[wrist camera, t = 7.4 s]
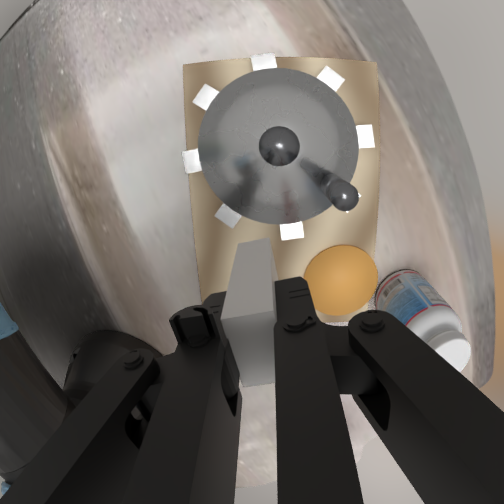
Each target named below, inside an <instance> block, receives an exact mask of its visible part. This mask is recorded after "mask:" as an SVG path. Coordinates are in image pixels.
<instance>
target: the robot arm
mask: <svg viewBox="0 0 504 504" xmlns="http://www.w3.org/2000/svg"><path fill="white" fill-rule="evenodd" d="M169 322H170V324H171V327H172V329H173V332H174V334H175V337H176V339H177V341H178V345H177V348H176V350H175V352H174V353H172V354H169V355H166V356H162V355H161V354H160V353H158V352H157V351H156V350H155V349H153V348H152V347H150V346H149V345H147V344H146V343H144V342H142V341H140V340H138V339H136V338H134V337H132V336H129V335H126V334H123V333H119V332H114V331H97V332H93V333H90V334H89V335H87V336H85V337H84V338H83V339H82V340H81V342H80V343H79V344H78V345H77V347H76V348H75V349H74V351H73V353H72V355H71V359H70V364H69V367H68V370H67V374H66V378H65V383H64V387H63V390H62V389H61V388H60V386H59V385H58V384H57V383H56V381H55V380H54V379H53V378H52V376H51V375H50V374H49V372H48V371H47V370H46V369H45V367H44V366H43V365H42V363H41V362H40V360H39V359H38V358H37V356H36V355H35V354H34V352H33V351H32V349H31V348H30V346H29V345H28V343H27V342H26V340H25V339H24V337H23V336H22V334H21V333H20V331H19V330H18V329H19V328H18V326H17V324H16V323H15V322H14V321H12V320H11V318H10V317H9V315H8V314H7V312H6V310H5V309H4V307H3V306H2V304H1V303H0V476H1V477H2V478H4V479H5V482H2V489H1V491H2V494H3V496H2V498H1V499H0V504H234V496H235V484H236V471H237V459H238V446H239V434H240V421H241V408H242V395H241V392H240V389H239V377H240V379H241V382H242V385H243V387H249V386H257V385H264V384H271V383H275V391H276V431H277V487H278V504H364V503H363V498H362V493H361V487H360V482H359V478H358V473H357V468H356V463H355V459H354V454H353V449H352V445H351V440H350V436H349V432H348V427H347V423H346V419H345V415H344V410H343V406H342V402H341V398H340V394H352V397H353V399H354V401H355V402H356V404H357V405H358V407H359V408H360V409H361V411H362V412H363V414H364V415H365V417H366V418H367V420H368V421H369V423H370V424H371V426H372V427H373V429H374V430H375V431H376V433H377V434H378V436H379V437H380V439H381V440H382V442H383V443H384V444H385V446H386V448H387V449H388V450H389V452H390V453H391V455H392V456H393V458H394V459H395V461H396V462H397V464H398V465H399V467H400V468H401V469H402V471H403V472H404V474H405V475H406V477H407V478H408V480H409V481H410V483H411V484H412V485H413V487H414V488H415V490H416V492H417V493H418V494H419V496H420V497H421V499H422V500H423V502H424V503H425V504H504V412H503V411H501V409H499V408H498V407H497V406H496V405H495V404H494V403H493V402H492V401H491V400H490V399H489V398H487V397H486V396H485V395H484V394H483V393H482V392H481V391H480V390H479V389H478V388H477V387H475V386H474V385H473V384H472V383H471V382H470V381H469V380H468V379H467V378H465V377H464V376H463V375H462V374H461V373H460V372H459V371H458V370H456V369H455V368H454V367H453V366H452V365H451V364H450V363H448V362H447V361H446V360H445V359H444V358H443V357H442V356H440V355H439V354H438V353H437V352H436V351H435V350H433V349H432V348H431V347H430V346H429V345H428V344H426V343H425V342H424V341H423V340H422V339H421V338H419V337H418V336H417V335H416V334H415V333H414V332H412V331H411V330H410V329H409V328H408V327H406V326H405V325H404V324H403V323H402V322H400V321H399V320H398V319H397V318H396V317H394V316H393V315H392V314H390V313H388V312H386V311H381V310H368V311H364V312H360V313H358V314H357V315H355V316H353V317H352V318H351V320H350V321H349V324H348V326H332V325H328V324H325V323H323V322H321V321H320V319H319V318H318V316H317V314H316V311H315V307H314V304H313V300H312V297H311V293H310V289H309V286H308V283H307V281H306V280H305V279H303V278H302V277H300V276H298V277H293V278H288V279H283V280H278V275H277V271H276V266H275V261H274V256H273V252H272V247H271V242H270V238H269V237H268V238H263V239H258V240H253V241H248V242H243V243H238V246H237V250H236V254H235V258H234V263H233V267H232V271H231V276H230V280H229V284H228V288H227V291H224V292H218V293H212V294H210V295H209V296H208V297H207V298H206V299H205V300H204V302H203V305H195V306H191V307H187V308H184V309H182V310H180V311H178V312H177V313H175V314H174V315H173V316H172V317H171V318H170V319H169Z"/></svg>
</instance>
